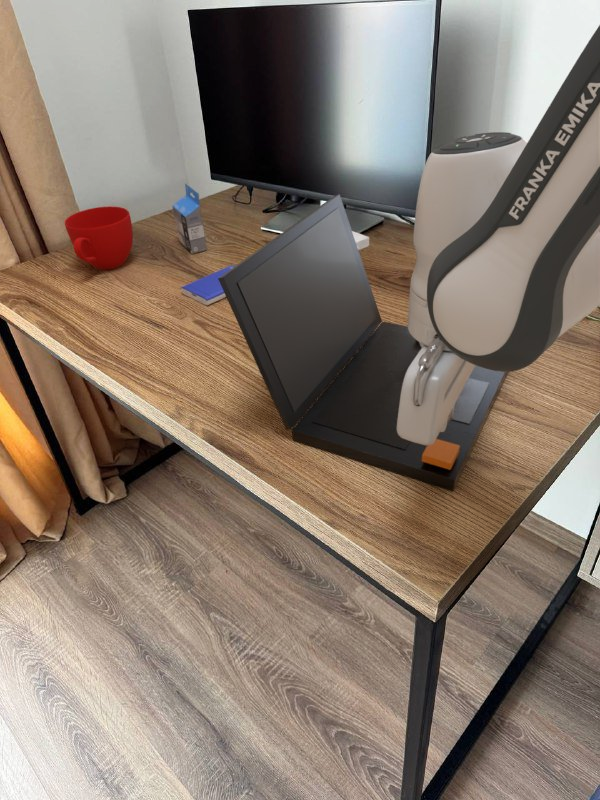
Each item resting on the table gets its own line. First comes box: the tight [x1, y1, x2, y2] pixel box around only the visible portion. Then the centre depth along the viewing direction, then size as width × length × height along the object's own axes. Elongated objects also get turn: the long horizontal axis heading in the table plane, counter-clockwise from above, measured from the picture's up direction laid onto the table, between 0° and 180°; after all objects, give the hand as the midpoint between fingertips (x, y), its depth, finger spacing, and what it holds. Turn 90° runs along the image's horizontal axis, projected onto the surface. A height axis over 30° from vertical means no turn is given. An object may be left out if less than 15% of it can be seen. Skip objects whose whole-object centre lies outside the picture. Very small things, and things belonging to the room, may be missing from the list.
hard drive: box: [180, 264, 236, 306], centre depth 112 cm, size 2×8×12 cm
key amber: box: [422, 439, 460, 470], centre depth 68 cm, size 3×3×1 cm
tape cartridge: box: [172, 183, 208, 255], centre depth 126 cm, size 9×4×12 cm, turn 28°
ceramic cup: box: [64, 205, 134, 270], centre depth 121 cm, size 13×17×10 cm
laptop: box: [291, 321, 509, 492], centre depth 81 cm, size 21×30×2 cm
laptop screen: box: [218, 193, 383, 431], centre depth 80 cm, size 21×30×1 cm
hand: (440, 423), depth 65 cm, fingers closed
